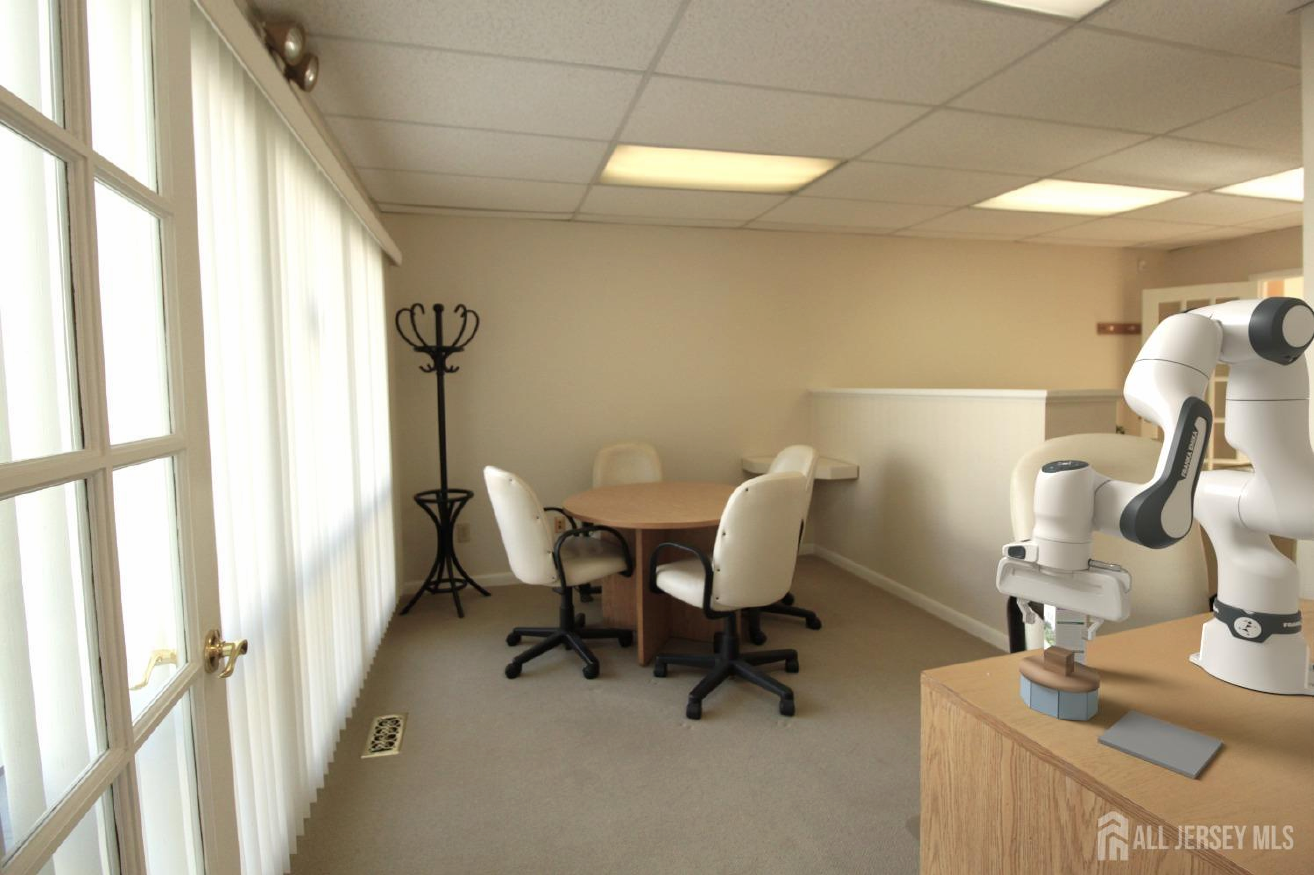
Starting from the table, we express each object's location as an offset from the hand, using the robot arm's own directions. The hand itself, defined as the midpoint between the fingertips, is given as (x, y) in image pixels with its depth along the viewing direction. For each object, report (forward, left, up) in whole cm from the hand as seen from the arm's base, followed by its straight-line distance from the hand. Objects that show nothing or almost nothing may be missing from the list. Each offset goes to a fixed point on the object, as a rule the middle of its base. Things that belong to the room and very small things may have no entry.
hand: (1057, 631), depth 110 cm
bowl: (0, 0, -13) cm, 13 cm away
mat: (+1, +15, -13) cm, 20 cm away
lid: (0, 0, -8) cm, 8 cm away
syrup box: (-15, -5, -14) cm, 21 cm away
